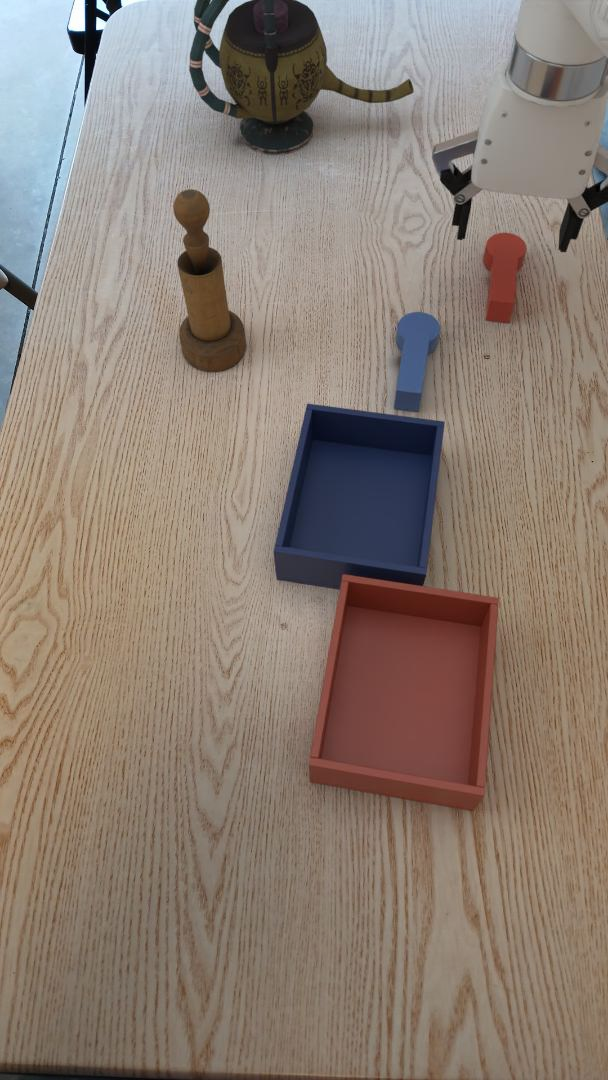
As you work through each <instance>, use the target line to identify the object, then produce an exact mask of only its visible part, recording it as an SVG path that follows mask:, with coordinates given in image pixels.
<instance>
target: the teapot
mask: <svg viewBox="0 0 608 1080" xmlns="http://www.w3.org/2000/svg"><path fill="white" fill-rule="evenodd" d="M228 2H230V0H196V2H195V5H194V9H193V24H194V28H195V34H194V37H193V41H192V45H191V47H190V48H191V49H190V51H189V66H188V68H189V69H188V71H189V74H190V78H191V81H192V82H191V83H192V84H193V87H194V89H195V91H196V92H197V94H198V95H199V97H200V99H201V100H202V101H203V103H204V104H206V105H207V106H208V107H209V108H210V109H211V110H212V111H214V112H217V113H220V114H223V115H226V116H230V117H232V118H234V119H236V120H239V119H240V120H241V121H240V122H239V123H240V124H239V127H238V132H239V137H240V140H241V141H242V142H243V143H244V145H245V146H246V147H247V148H249V149H251V150H252V151H254V152H258V153H261V154H263V155H274V156H275V155H276V156H277V155H278V156H279V155H285V154H290V153H294V152H296V151H299V150H300V149H302V148H304V147H305V146H307V145H308V144H309V143H310V141H311V140H312V139H313V137H314V133H315V123H314V120H313V118H312V116H310V115H309V113H308V112H306V110H307V109H309V108H310V107H311V105H312V104H313V103H314V102H315V100H316V99H317V97H318V95H319V93H320V91H322V90H323V91H329V92H330V91H331V92H334V93H336V94H339V95H342V96H343V97H347V98H349V99H353V100H356V101H361V102H363V103H368V104H380V103H381V104H382V103H391V102H394V101H398V100H401V99H403V98H406V97H407V96H409V95H412V94H414V92H415V90H414V86H413V85H414V84H413V82H412V80H411V79H410V78H408V79H406V80H405V81H404V82H402V83H401V84H399V85H398V86H396V87H393V88H389V89H380V90H379V89H364V88H358V87H356V86H354V85H350V84H348V83H346V82H345V81H343V80H342V79H340V78H339V77H337V76H336V75H335V73H334V72H333V71H332V70H331V68H330V67H329V66H328V65H327V64H328V53H327V46H326V43H325V39H324V36H323V33H322V30H321V27H320V24H319V22H318V19H317V17H316V15H315V13H314V11H313V10H312V9H311V8H310V7H309V6H308V5H306V4H304V3H302V2H300V1H299V0H248V1H245V2H243V3H242V4H239V5H238V6H236V7H235V8H234V9H233V10H232V11H231V12H230V13H229V14H228V17H227V20H226V23H225V26H224V29H223V31H222V36H221V40H220V44H219V49H218V47H217V46H216V45H215V43H214V41H213V39H212V37H211V36H210V34H211V32H212V30H213V27H214V24H215V22H216V20H218V17H219V16H220V14H221V13H222V12H223V10H224V9H225V7H226V5H227V4H228ZM204 52H205V55H206V56H207V57H208V58H209V59H210V60H211V61H212V63H213V64H214V66H217V68H219V69H220V72H221V77H222V80H223V83H224V87H225V90H226V91H227V94H229V96H230V97H231V99H232V100H233V101H234V103H235V104H234V103H232V102H229V101H226V100H223V99H222V98H221V99H220V98H219V97H217V96H216V94H215V93H213V92H212V90H211V88H210V87H209V85H208V83H207V81H206V79H205V75H204V71H203V61H204V59H203V58H204Z"/></svg>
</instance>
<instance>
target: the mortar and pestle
mask: <svg viewBox="0 0 608 1080" xmlns="http://www.w3.org/2000/svg"><path fill="white" fill-rule="evenodd" d="M172 207H173V214H174V218H175V219H176V221H177V222H178V223H179V225H181V227H182V228H183V229H184V230H185V231H186V233H185V235H184V236H183V238H182V243H183V246H184V249H185V250H184V251H183V252H182V253H181V254H180V255H179V256H178V258H177V262H176V265H177V270H178V275H179V278H180V283H181V288H182V292H183V298H184V303H185V308H186V312H187V316H186V317H185V318H184V319H183V321H182V323H181V324H180V326H179V329H178V330H179V332H178V337H179V342H180V347H181V352H182V355H183V358H184V359H185V361H186V362H187V363H188V364H189V365H190V366H192V367H193V368H195V369H196V370H200V371H203V372H213V373H215V372H221V371H222V372H223V371H226V370H228V369H230V368H232V367H234V366H236V365H237V363H239V362H240V361H241V360H242V359H243V357H244V355H245V353H246V350H247V339H246V329H245V326H244V323H243V321H242V319H241V317H239V316H238V315H237V314H236V313H235V312H233V311H231V310H230V309H229V303H228V297H227V291H226V283H225V276H224V267H223V260H222V256H221V254H220V251H217V249H215V248H213V247H211V246H210V236H209V234H207V232H205V231H204V227H205V225H206V223H207V221H208V219H209V217H210V212H211V208H210V203H209V200H208V198H207V197H206V195H204V193H202V192H201V191H199V190H197V189H192V188H191V189H184V190H182V191H181V192H179V193H178V194H177V195H176V198H175V199H174V201H173V205H172Z"/></svg>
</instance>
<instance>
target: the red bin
mask: <svg viewBox="0 0 608 1080" xmlns="http://www.w3.org/2000/svg"><path fill="white" fill-rule="evenodd" d="M499 602H500V598H499V597H496V596H491V595H490V596H489V595H484V594H483V595H482V594H476V593H470V592H464V591H456V590H449V589H444V588H437V587H431V586H425V585H423V586H418V585H411V584H405V583H398V582H391V581H385V580H378V579H372V578H365V577H359V576H352V575H346V574H343V575H342V580H341V585H340V589H339V592H338V597H337V603H336V609H335V614H334V620H333V626H332V631H331V637H330V643H329V649H328V654H327V658H326V659H327V660H326V665H325V670H324V675H323V676H324V677H323V682H322V688H321V694H320V698H319V704H318V711H317V716H316V722H315V725H314V733H313V738H312V743H311V748H310V755H309V761H308V778H309V783H313V784H319V785H323V786H324V785H325V786H329V787H334V788H335V787H336V788H341V789H345V790H346V789H347V790H352V791H358V792H363V793H368V794H374V795H380V796H385V797H391V798H396V799H402V800H407V801H412V802H419V803H425V804H429V805H434V806H435V805H436V806H440V807H441V806H442V807H446V808H452V809H457V810H464V811H469V812H473V811H474V810H475V809H476V808H477V806H478V805H479V804H480V802H481V801H482V800H483V799H484V797H485V795H486V784H487V783H486V781H487V767H488V756H489V754H488V753H489V742H490V741H489V740H490V727H491V712H492V701H493V684H494V674H495V673H494V671H495V658H496V646H497V645H496V644H497V632H498V630H497V629H498V619H499V618H498V617H499V604H500V603H499Z"/></svg>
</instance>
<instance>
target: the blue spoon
mask: <svg viewBox="0 0 608 1080" xmlns="http://www.w3.org/2000/svg"><path fill="white" fill-rule="evenodd" d="M440 332H441V326H440V323H439V321H438V319H436V317H434V316H433V315H432V314H429V313H427V312H422V311H413V312H409V313H406V314H404V315H403V316H401V318H400V319H399V320H398V322H397V326H396V334H395V335H396V336H395V344H396V347H397V348H398V350H399V351H400V352H401V356H400V357H401V358H400V362H399V370H398V375H397V381H396V388H395V396H394V404H393V410H398V411H406V412H413V413H419V412H420V407H421V401H422V395H423V389H424V383H425V382H424V381H425V374H426V368H427V359H428V356H429V355H431V354H432V353H434V352H435V351H436V349H437V348H438V344H439V339H440Z"/></svg>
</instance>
